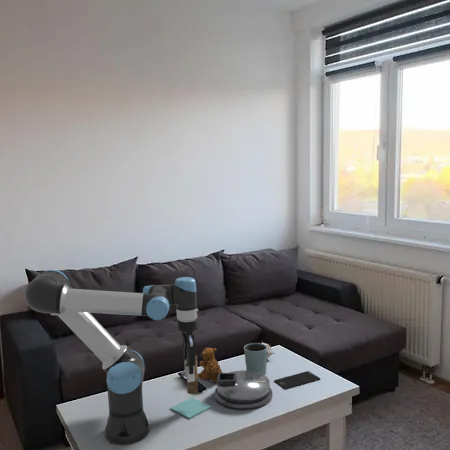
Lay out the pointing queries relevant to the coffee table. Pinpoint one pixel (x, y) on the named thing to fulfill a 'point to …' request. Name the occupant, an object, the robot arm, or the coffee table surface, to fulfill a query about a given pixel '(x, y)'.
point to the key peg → (193, 386)
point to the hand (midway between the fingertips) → (190, 378)
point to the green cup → (256, 357)
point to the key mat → (190, 408)
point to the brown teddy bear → (209, 365)
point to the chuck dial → (243, 387)
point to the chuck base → (243, 406)
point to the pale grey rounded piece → (268, 350)
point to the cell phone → (297, 380)
